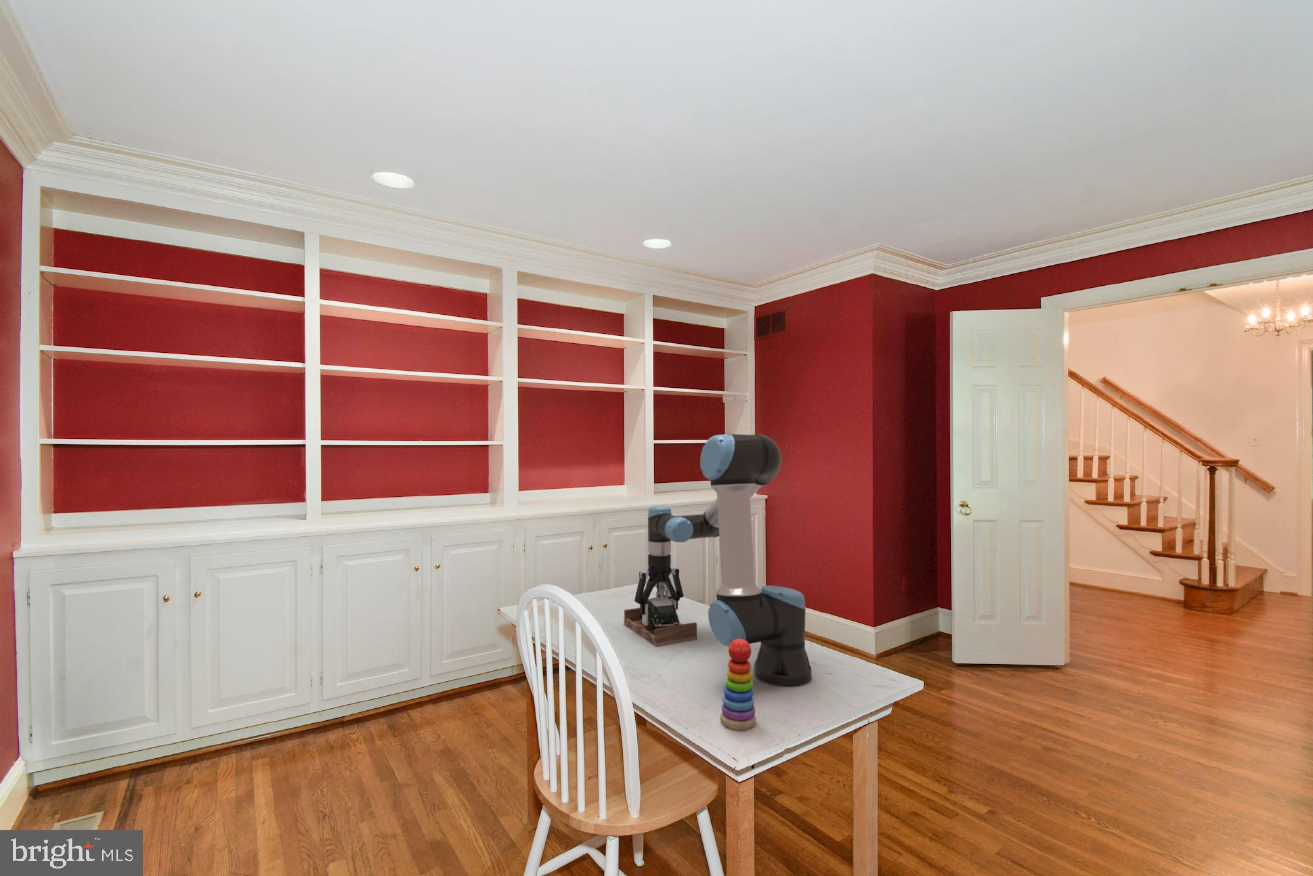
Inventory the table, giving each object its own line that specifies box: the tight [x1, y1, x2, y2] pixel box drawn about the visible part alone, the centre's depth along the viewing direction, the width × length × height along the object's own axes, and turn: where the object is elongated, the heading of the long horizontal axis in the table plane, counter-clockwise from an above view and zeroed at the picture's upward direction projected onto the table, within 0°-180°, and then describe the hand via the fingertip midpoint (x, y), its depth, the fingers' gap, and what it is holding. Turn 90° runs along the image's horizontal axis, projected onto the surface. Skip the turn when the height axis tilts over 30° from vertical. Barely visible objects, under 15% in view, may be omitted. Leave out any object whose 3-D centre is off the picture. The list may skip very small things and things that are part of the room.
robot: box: [645, 581, 673, 600], centre depth 214 cm, size 20×5×20 cm, turn 26°
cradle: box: [623, 607, 698, 647], centre depth 193 cm, size 23×14×5 cm, turn 28°
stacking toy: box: [719, 639, 757, 731], centre depth 132 cm, size 8×8×19 cm
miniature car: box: [640, 596, 680, 630], centre depth 193 cm, size 9×18×8 cm, turn 17°
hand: (659, 621), depth 193 cm, fingers closed on miniature car, 10 cm apart
